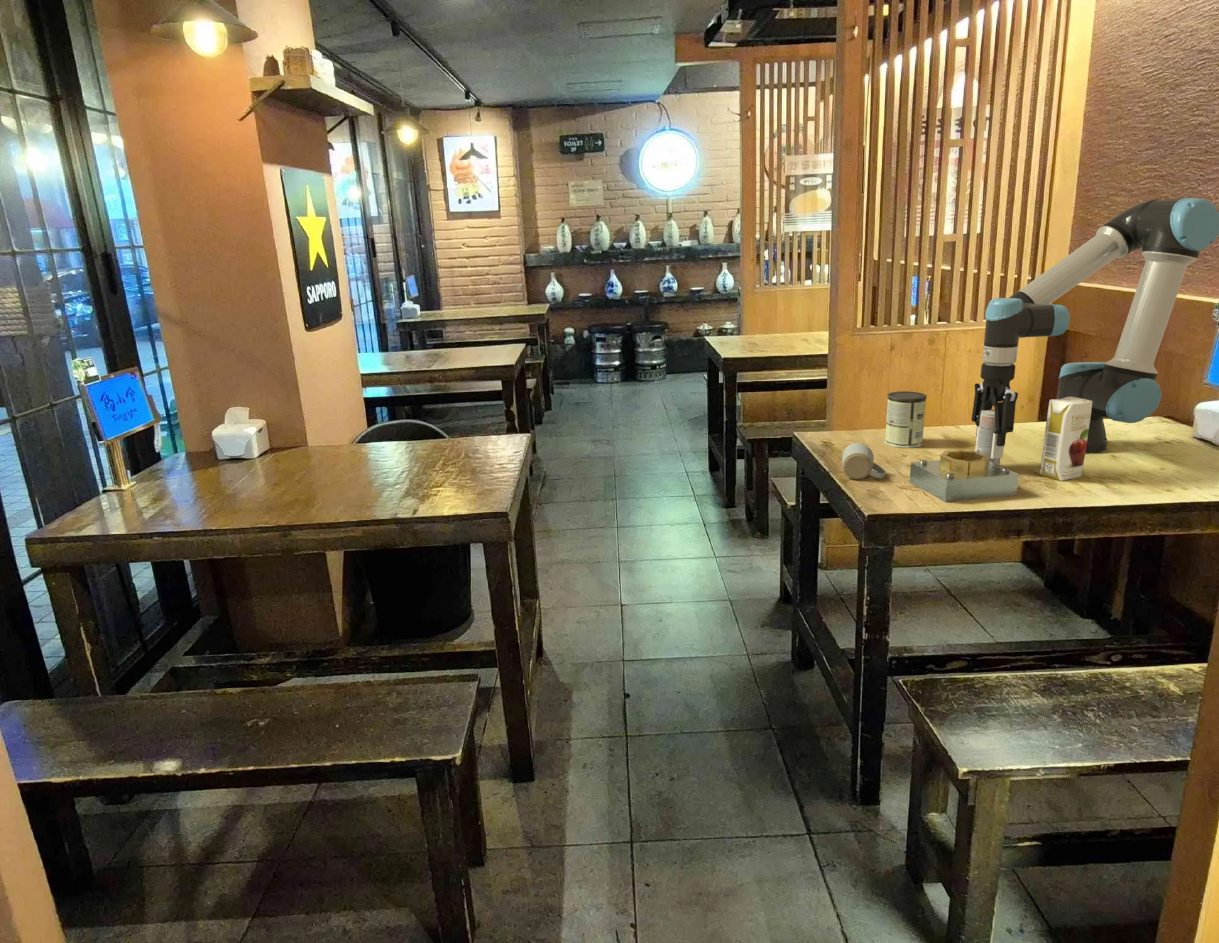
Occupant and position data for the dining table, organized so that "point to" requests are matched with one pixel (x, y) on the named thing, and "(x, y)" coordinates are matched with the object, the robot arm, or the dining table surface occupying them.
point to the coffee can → (905, 419)
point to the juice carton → (1065, 438)
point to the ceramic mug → (860, 462)
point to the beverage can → (987, 434)
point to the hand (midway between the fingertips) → (988, 454)
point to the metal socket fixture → (963, 477)
